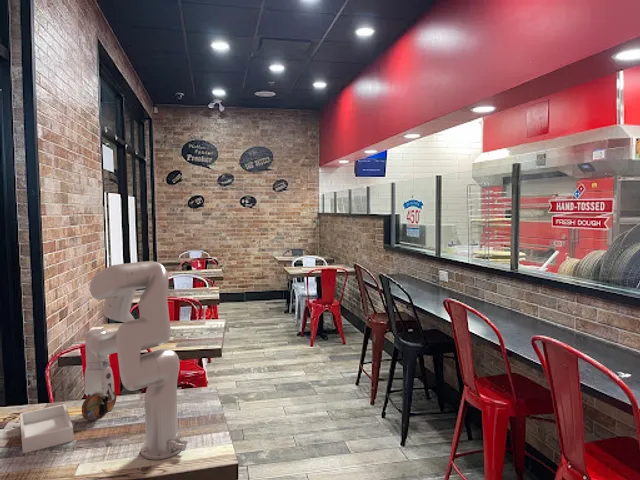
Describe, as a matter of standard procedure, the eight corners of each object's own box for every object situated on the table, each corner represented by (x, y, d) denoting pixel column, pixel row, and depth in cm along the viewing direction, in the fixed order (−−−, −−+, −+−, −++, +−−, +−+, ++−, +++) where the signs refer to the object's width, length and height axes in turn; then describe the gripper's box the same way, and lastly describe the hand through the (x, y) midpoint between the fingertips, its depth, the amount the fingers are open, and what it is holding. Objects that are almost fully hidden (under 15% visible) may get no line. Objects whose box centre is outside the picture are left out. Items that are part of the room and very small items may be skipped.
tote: (20, 426, 162) (19, 413, 162) (65, 415, 170) (65, 403, 170) (22, 453, 144) (22, 439, 144) (73, 440, 152) (73, 427, 152)
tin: (87, 424, 163) (86, 401, 163) (80, 423, 164) (79, 400, 164) (117, 406, 178) (116, 385, 177) (110, 405, 179) (109, 384, 178)
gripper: (123, 363, 170) (124, 412, 172) (89, 358, 176) (91, 405, 177) (107, 370, 163) (109, 420, 165) (72, 364, 169) (74, 413, 170)
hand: (99, 412), depth 171 cm, fingers closed on tin, 2 cm apart
